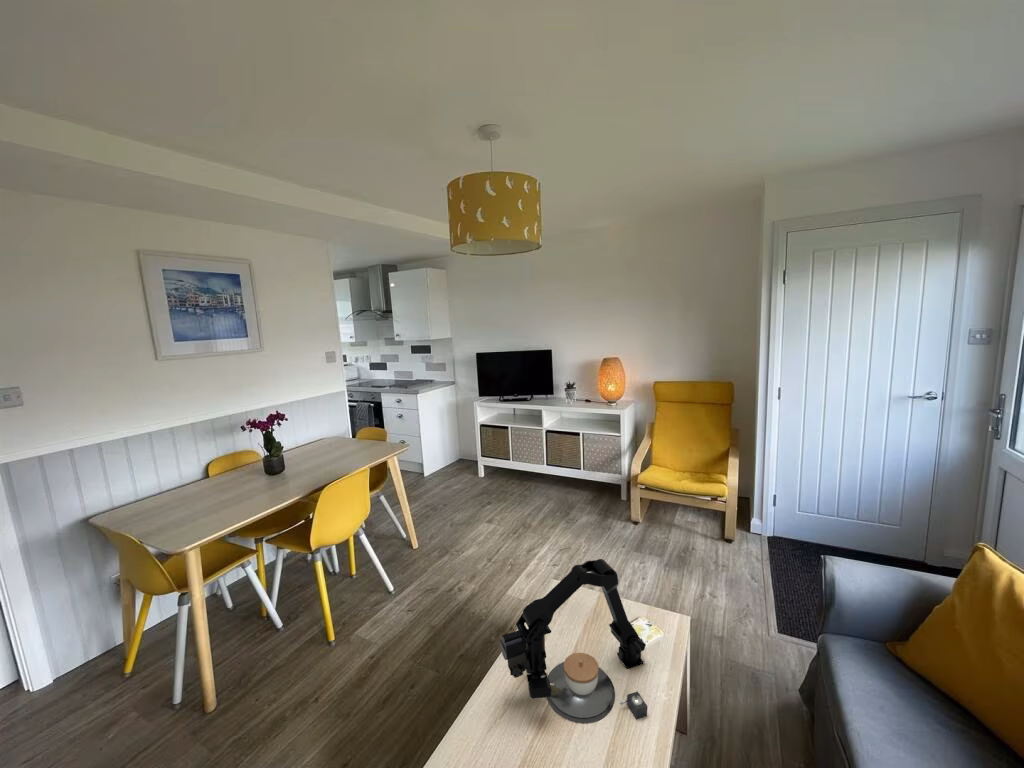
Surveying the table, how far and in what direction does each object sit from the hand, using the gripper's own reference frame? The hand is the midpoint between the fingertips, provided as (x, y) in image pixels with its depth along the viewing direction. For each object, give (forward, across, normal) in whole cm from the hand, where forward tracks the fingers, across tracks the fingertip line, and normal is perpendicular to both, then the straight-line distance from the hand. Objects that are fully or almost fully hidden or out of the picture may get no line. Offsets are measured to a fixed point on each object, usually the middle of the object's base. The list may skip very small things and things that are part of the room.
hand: (536, 690), depth 131 cm
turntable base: (+2, 0, +14) cm, 14 cm away
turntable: (+1, -1, +11) cm, 11 cm away
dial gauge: (+2, +9, +27) cm, 29 cm away
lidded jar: (+2, 0, +14) cm, 14 cm away
